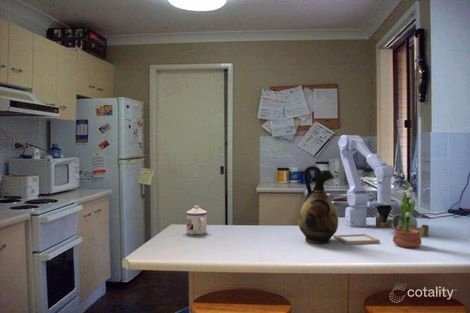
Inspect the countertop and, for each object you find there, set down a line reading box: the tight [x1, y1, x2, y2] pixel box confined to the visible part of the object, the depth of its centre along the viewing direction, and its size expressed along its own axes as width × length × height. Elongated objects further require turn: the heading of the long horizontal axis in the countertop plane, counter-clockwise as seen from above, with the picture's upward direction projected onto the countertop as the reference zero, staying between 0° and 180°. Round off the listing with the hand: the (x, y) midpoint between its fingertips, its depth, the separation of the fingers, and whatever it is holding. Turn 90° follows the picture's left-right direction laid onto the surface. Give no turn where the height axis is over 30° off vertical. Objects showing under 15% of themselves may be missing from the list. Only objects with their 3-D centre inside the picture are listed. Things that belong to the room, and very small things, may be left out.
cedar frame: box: [375, 216, 429, 237], centre depth 172 cm, size 13×21×4 cm, turn 5°
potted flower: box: [392, 180, 422, 249], centre depth 145 cm, size 12×10×25 cm
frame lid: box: [332, 233, 380, 246], centre depth 153 cm, size 14×11×1 cm
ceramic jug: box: [297, 165, 339, 245], centre depth 152 cm, size 17×15×30 cm
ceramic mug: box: [391, 213, 418, 231], centre depth 173 cm, size 11×8×8 cm
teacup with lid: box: [185, 205, 208, 235], centre depth 165 cm, size 12×9×12 cm
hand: (383, 222), depth 171 cm, fingers closed
